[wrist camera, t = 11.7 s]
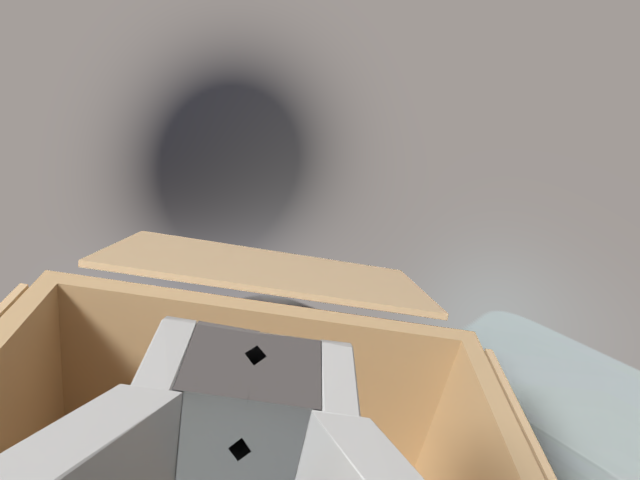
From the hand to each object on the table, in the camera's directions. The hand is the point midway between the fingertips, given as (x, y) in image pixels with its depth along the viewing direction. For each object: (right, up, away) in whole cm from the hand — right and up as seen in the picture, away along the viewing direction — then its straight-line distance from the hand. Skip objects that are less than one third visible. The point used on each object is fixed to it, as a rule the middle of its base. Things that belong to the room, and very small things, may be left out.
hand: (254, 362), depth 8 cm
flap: (-1, 0, +13) cm, 13 cm away
